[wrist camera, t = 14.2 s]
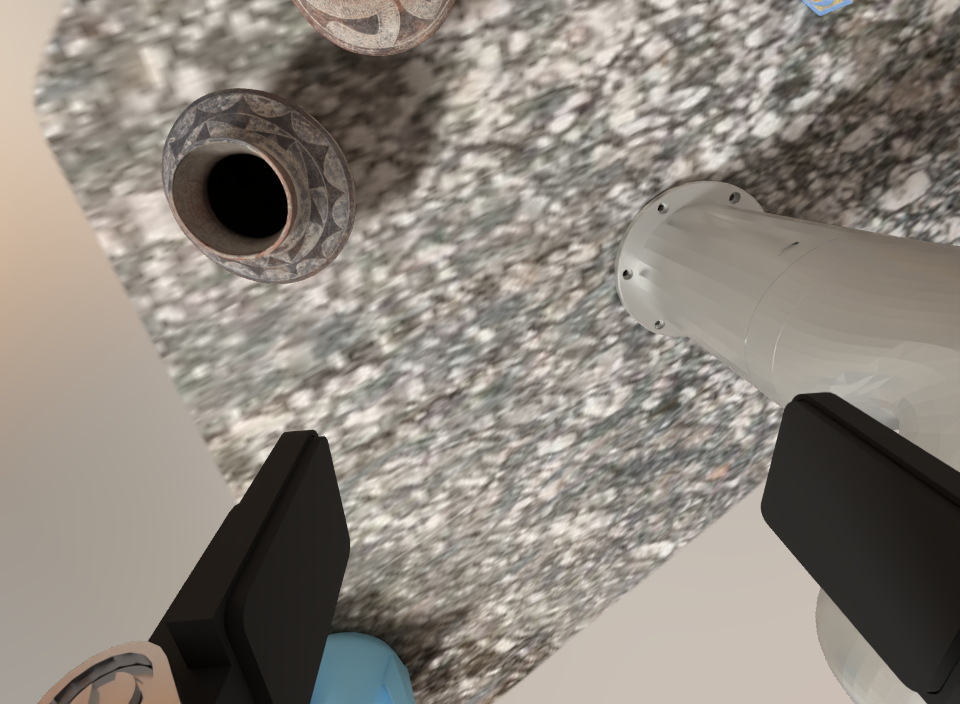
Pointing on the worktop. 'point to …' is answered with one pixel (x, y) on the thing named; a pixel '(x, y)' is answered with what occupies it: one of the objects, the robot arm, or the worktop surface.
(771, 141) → the worktop surface
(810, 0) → the alphabet block
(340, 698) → the teapot
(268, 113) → the pottery
